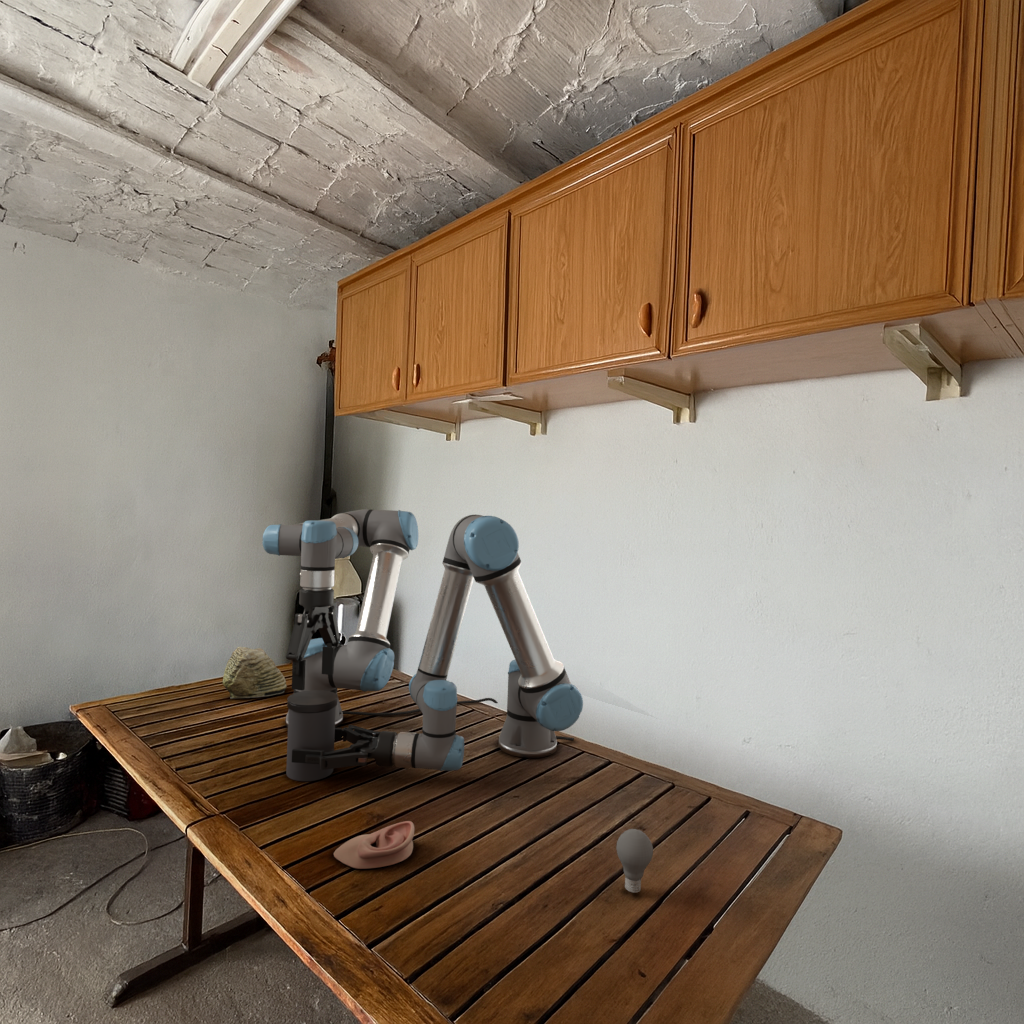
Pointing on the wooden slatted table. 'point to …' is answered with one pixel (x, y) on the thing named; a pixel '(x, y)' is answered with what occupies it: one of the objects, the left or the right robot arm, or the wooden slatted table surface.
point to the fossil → (252, 674)
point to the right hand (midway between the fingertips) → (304, 743)
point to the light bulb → (634, 857)
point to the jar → (309, 741)
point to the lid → (312, 701)
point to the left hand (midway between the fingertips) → (313, 681)
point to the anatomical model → (378, 847)
